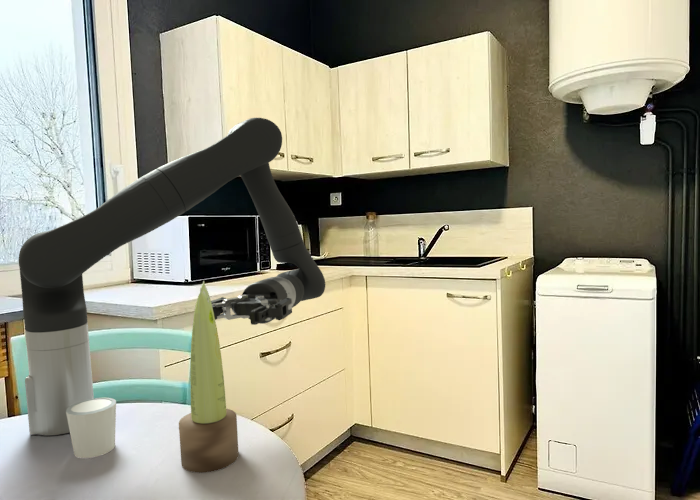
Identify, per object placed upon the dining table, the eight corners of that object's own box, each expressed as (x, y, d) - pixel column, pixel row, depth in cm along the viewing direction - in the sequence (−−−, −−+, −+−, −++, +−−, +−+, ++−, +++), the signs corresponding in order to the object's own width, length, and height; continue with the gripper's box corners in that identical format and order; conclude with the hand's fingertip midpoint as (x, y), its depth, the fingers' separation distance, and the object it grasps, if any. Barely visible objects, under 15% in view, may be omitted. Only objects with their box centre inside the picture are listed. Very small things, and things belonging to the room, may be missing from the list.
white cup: (99, 461, 74) (95, 415, 73) (58, 459, 75) (54, 413, 75) (129, 440, 81) (125, 397, 80) (91, 438, 82) (87, 395, 82)
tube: (237, 416, 74) (229, 282, 72) (208, 429, 70) (200, 287, 68) (211, 408, 77) (204, 280, 76) (183, 420, 73) (174, 285, 72)
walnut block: (179, 477, 69) (176, 434, 68) (183, 450, 77) (180, 412, 76) (240, 467, 71) (237, 425, 71) (237, 442, 79) (235, 404, 78)
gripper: (233, 278, 96) (185, 293, 81) (304, 278, 93) (268, 294, 77) (236, 317, 97) (188, 340, 81) (306, 319, 93) (271, 342, 78)
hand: (227, 317), depth 79 cm, fingers open, 8 cm apart
